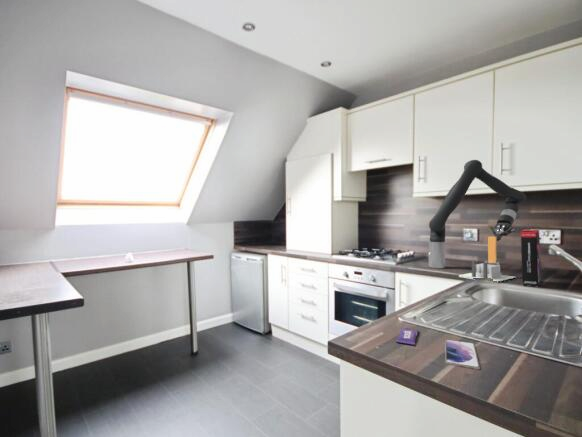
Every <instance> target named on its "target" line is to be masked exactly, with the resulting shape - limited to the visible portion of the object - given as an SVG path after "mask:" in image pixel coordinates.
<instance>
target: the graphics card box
mask: <svg viewBox="0 0 582 437" xmlns="http://www.w3.org/2000/svg"><path fill="white" fill-rule="evenodd" d="M540 241H541V240H540V230H539V229H529V228H527V229H525V228H524V229H523V230H520V248H521V249H520V250H521V274H522V275H521V285H522V284H523V285H531V286H530V287H532V286H538V287H539V286H540V284H541V280H542V279H541V278H542V276H541V274H542V273H541V243H540ZM523 285H522V286H523Z"/></svg>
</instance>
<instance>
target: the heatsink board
mask: <svg viewBox="0 0 582 437" xmlns="http://www.w3.org/2000/svg"><path fill="white" fill-rule="evenodd" d="M458 277H459V278H464V279H470V280H474V279H473V278H491V279H493V281H497V282H498V281H503V280H508V279H513V278H516V279H517V277H516V276H512V275H506V274H505V275H504V274H502V273H501V262H500V261H497V262H496V265H493V264H488V260H485V261H484V262H482V263H479V264H477V261H474V260H472V261H471V272H469V273H467V272H466V273H463V274H459V275H458ZM513 280H514V279H513ZM508 281H509V280H508Z"/></svg>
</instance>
